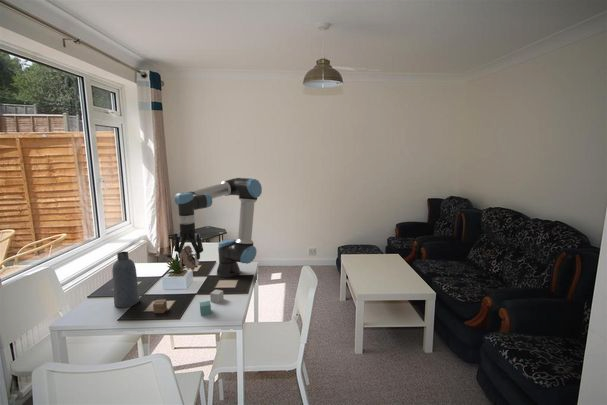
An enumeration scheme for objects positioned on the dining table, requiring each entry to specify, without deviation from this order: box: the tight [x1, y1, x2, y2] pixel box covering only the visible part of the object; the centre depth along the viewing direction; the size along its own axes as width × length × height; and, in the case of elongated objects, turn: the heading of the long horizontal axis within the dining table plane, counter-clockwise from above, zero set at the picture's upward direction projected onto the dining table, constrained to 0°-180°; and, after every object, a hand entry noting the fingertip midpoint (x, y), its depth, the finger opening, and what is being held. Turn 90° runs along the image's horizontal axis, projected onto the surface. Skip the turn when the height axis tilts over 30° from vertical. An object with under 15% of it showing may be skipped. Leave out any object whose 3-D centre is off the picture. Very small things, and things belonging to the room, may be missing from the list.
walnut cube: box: [152, 299, 168, 314], centre depth 168 cm, size 5×5×5 cm
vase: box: [112, 251, 141, 309], centre depth 175 cm, size 12×12×28 cm
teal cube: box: [199, 300, 212, 317], centre depth 166 cm, size 5×5×5 cm
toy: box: [179, 245, 199, 272], centre depth 172 cm, size 9×8×15 cm
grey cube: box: [209, 289, 224, 304], centre depth 180 cm, size 5×5×5 cm
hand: (189, 264), depth 173 cm, fingers closed on toy, 8 cm apart
